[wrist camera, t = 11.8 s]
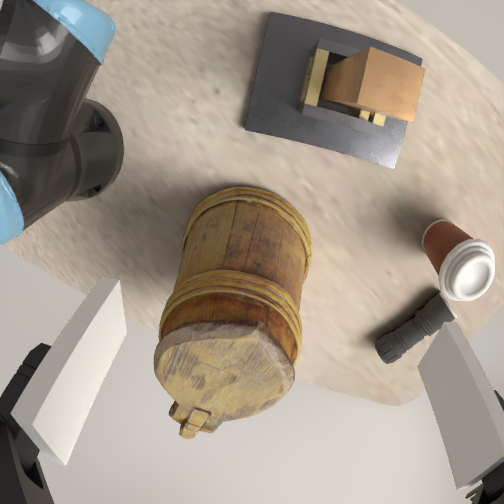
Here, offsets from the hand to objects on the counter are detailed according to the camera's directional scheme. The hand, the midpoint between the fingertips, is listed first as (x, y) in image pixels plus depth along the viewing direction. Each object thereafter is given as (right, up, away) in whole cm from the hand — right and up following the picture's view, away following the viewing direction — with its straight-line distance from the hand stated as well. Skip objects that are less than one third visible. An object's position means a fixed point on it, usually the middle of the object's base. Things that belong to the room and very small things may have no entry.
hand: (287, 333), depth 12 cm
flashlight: (+27, -9, +40) cm, 49 cm away
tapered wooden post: (+9, +23, +22) cm, 33 cm away
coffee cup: (+28, +5, +32) cm, 42 cm away
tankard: (-3, +2, +36) cm, 36 cm away
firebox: (+9, +24, +24) cm, 34 cm away
